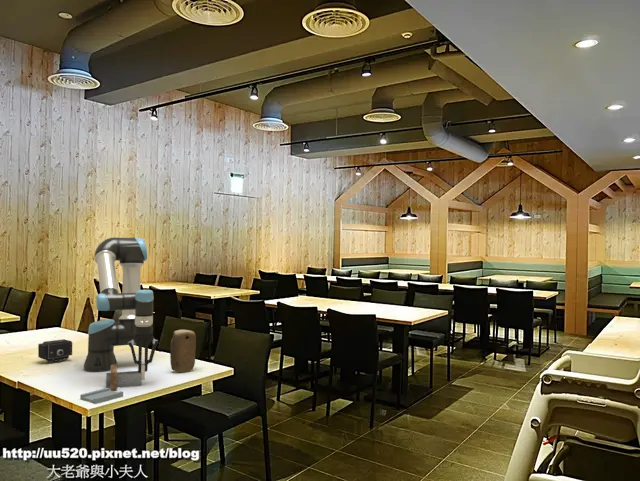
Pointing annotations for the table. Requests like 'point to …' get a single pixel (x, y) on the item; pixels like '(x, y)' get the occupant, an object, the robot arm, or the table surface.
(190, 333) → the stone
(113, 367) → the beam
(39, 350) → the camera
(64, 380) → the table surface
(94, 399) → the tray
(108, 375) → the grey rectangular block
